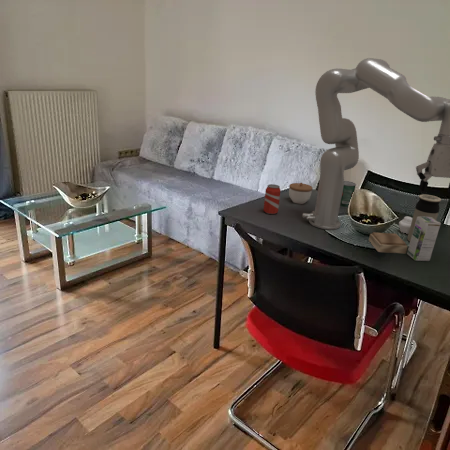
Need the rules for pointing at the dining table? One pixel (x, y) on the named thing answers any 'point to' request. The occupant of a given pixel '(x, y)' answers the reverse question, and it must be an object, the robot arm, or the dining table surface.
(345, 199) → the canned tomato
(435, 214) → the travel mug
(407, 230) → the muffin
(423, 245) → the syrup box
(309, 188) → the lidded jar
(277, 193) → the beverage can
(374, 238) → the base
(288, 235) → the dining table surface
